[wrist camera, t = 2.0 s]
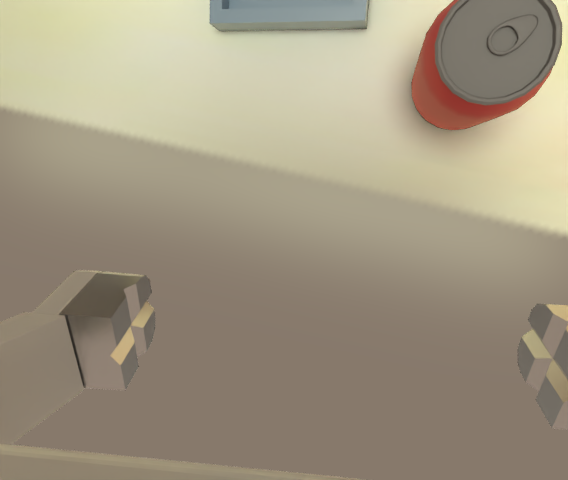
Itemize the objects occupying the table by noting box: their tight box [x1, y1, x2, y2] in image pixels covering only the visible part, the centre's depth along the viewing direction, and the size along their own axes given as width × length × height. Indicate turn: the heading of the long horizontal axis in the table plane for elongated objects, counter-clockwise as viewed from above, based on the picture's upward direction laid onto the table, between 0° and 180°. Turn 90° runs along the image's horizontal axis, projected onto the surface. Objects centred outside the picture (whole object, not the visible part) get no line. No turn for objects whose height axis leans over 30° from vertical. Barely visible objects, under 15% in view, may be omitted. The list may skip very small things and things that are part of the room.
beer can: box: [412, 0, 562, 130], centre depth 25 cm, size 7×7×12 cm
